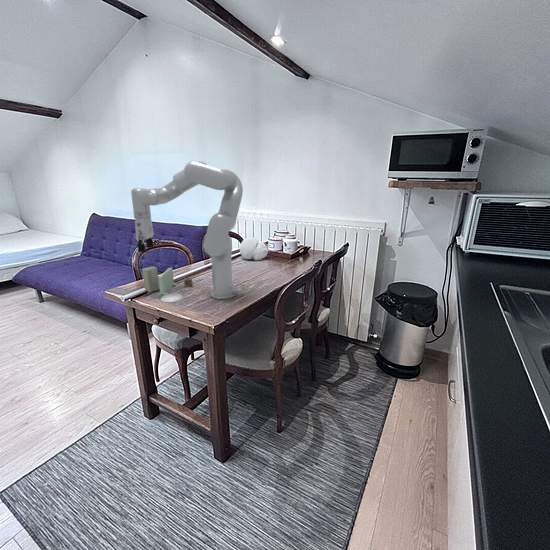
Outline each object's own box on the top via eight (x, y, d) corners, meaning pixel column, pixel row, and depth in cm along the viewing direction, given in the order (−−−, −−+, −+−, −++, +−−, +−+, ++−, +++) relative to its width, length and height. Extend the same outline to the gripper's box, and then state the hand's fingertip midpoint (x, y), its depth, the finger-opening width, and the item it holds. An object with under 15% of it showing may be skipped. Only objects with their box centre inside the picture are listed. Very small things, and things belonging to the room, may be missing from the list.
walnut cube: (192, 284, 167) (191, 277, 166) (192, 286, 163) (191, 280, 162) (184, 285, 166) (184, 278, 165) (184, 287, 162) (184, 280, 161)
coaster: (185, 294, 152) (185, 293, 152) (178, 302, 143) (178, 301, 142) (165, 294, 152) (165, 293, 152) (157, 302, 143) (157, 301, 143)
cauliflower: (237, 251, 204) (247, 230, 208) (234, 256, 221) (243, 237, 225) (263, 263, 207) (273, 243, 211) (259, 268, 224) (268, 249, 228)
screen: (177, 284, 166) (175, 267, 162) (167, 296, 150) (164, 277, 147) (168, 284, 166) (166, 267, 162) (157, 296, 150) (154, 277, 147)
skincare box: (155, 287, 162) (153, 265, 158) (160, 289, 159) (157, 267, 155) (144, 290, 157) (141, 268, 153) (149, 292, 154) (145, 270, 151)
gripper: (142, 217, 138) (146, 254, 143) (157, 212, 154) (160, 245, 159) (126, 217, 138) (130, 253, 143) (142, 212, 154) (145, 245, 159)
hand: (146, 249), depth 151 cm, fingers open, 9 cm apart
